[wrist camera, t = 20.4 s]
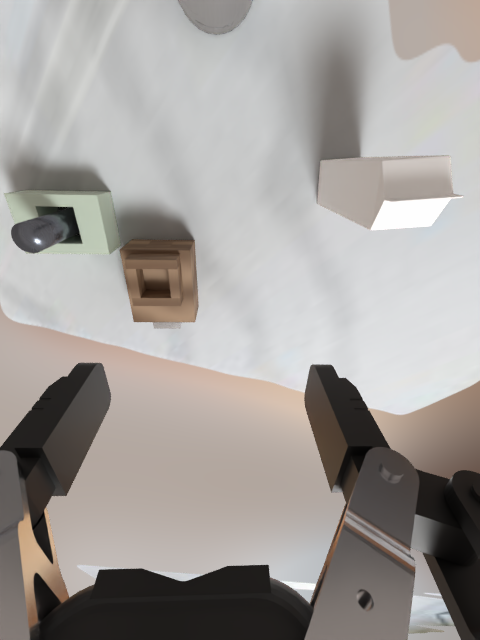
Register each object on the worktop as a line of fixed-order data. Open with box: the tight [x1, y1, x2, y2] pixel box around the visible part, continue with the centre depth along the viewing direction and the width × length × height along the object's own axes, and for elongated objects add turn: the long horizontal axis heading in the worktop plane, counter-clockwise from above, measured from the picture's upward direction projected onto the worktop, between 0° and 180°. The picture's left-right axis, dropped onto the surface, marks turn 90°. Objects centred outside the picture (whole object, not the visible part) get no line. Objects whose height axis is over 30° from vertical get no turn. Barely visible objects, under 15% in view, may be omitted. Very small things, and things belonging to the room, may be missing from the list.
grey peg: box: [11, 207, 80, 253], centre depth 38 cm, size 4×4×12 cm
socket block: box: [120, 239, 198, 322], centre depth 44 cm, size 12×10×9 cm
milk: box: [317, 155, 464, 230], centre depth 32 cm, size 6×6×22 cm
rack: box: [4, 190, 121, 254], centre depth 41 cm, size 8×12×5 cm, turn 89°
